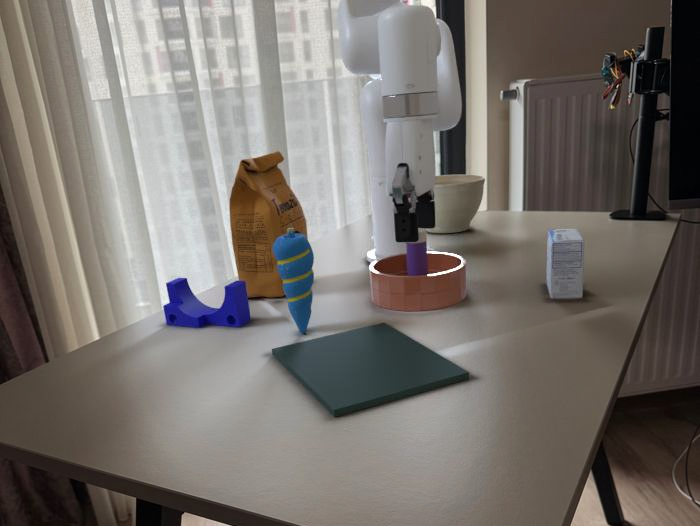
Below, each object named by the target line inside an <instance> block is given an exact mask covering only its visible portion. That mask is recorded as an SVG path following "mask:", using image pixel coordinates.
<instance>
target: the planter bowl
mask: <svg viewBox="0 0 700 526" xmlns="http://www.w3.org/2000/svg"><path fill="white" fill-rule="evenodd" d="M485 182H486V177H485V176H483V175H480V174H443V175H442V174H441V175H436V178H435V185H434V187H433V191H434V201H435V227H434V228H432V229H426V230H427V233H434V234H453V233H459V232H466V231H467V230H469V228H470V225H471V222H472V220H473V219H474V218H475V216H476V214H477V213H478V211H479V209H480V207H481V203H482V200H483V196H484V188H485V187H484V185H485Z"/></svg>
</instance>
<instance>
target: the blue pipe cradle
mask: <svg viewBox="0 0 700 526" xmlns="http://www.w3.org/2000/svg"><path fill="white" fill-rule="evenodd" d="M165 286H166V291H167V296H168V300H169V301H168V303H166V304H164V305H162V307H163V308H162V309H163V312H164V313H163V314H164V318H165V322H166V326H173V327H175V326H176V327H185V328H197V329H200V328H202V327H204V326H205V325H208V326H221V327H230V328H231V327H232V328H242V326H244V325H246V324H247V323H249V322H251V321H252V318H251V317H252V316H251V311H250V304H249V298H248V296H247V290H246V283H245V281H239V280H234V281H232V282H230V283H229V284H227V285H225V286H224V298H223V301H222V304H221V306H220V307H212V306H208V305H206V304H205V303H204V302H202V301H200V300H199V298H197V296H196V295H195V294H194V292H193V290H192V289H191V287H190V285H189V281H188V278H187V277H177V278H175V279H172V280H170V281H168V282H166V283H165Z"/></svg>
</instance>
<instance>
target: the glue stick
mask: <svg viewBox="0 0 700 526" xmlns="http://www.w3.org/2000/svg"><path fill="white" fill-rule="evenodd" d="M418 232H419V240H418V241H417V242H406V252H407V272H408V276H422V275H428V264H427V246H428V243H427V242H428V231H427V230H426V229H424V228H418Z"/></svg>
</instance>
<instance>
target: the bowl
mask: <svg viewBox="0 0 700 526" xmlns="http://www.w3.org/2000/svg"><path fill="white" fill-rule="evenodd" d="M427 264H428V275H422V276H408V272H407V253H404V254H397V255H392V256H388V257H385V258H382V259H379V260H377V261H375V262H373V263H370V264H369V266H368V272H369V273H368V274H369V288H370V299H371V301H372V303H373V305H376V306H378V307H379V308H383V309H386V310H391V311H398V312H399V311H400V312H425V311H434V310H439V309H444V308H448V307H451V306H454V305H456V304H459V303H461V302H462V301H463V300H465V299H466V298H467V295H468V294H467V293H468V291H467V290H468V289H467V288H468V287H467V286H468V285H467V259H465V258H464V257H463V256H461V255H457V254H455V253H448V252H440V251H434V252H427Z"/></svg>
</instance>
